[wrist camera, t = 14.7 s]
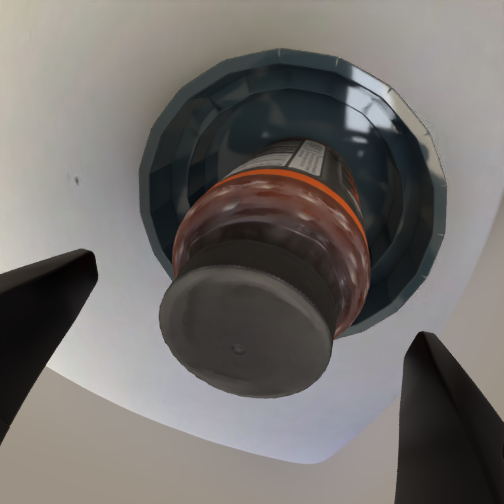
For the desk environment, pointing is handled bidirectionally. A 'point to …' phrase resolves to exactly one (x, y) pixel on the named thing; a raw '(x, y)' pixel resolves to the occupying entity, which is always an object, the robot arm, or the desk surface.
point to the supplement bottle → (268, 272)
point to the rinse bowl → (313, 127)
